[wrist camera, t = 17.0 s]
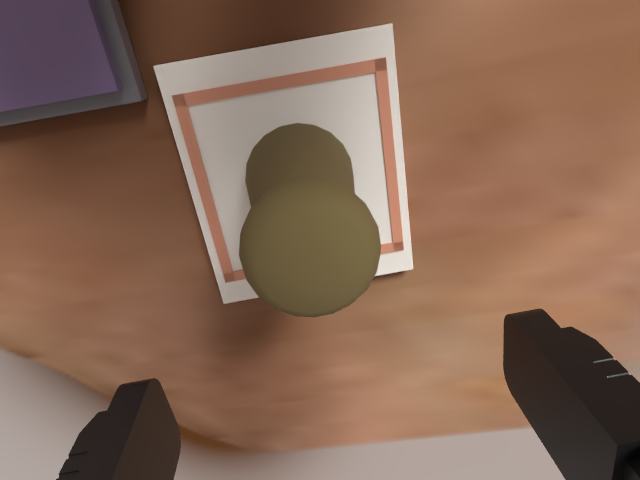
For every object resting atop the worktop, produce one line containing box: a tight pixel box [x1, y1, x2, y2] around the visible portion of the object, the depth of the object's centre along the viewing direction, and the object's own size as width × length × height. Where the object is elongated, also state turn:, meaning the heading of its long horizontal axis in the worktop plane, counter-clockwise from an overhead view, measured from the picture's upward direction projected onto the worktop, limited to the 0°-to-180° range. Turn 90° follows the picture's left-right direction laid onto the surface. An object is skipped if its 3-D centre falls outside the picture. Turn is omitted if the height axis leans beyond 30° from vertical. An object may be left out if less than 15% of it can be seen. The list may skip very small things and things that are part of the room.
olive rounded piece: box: [239, 123, 381, 317], centre depth 20 cm, size 6×6×11 cm
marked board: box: [153, 23, 413, 304], centre depth 25 cm, size 14×12×1 cm
